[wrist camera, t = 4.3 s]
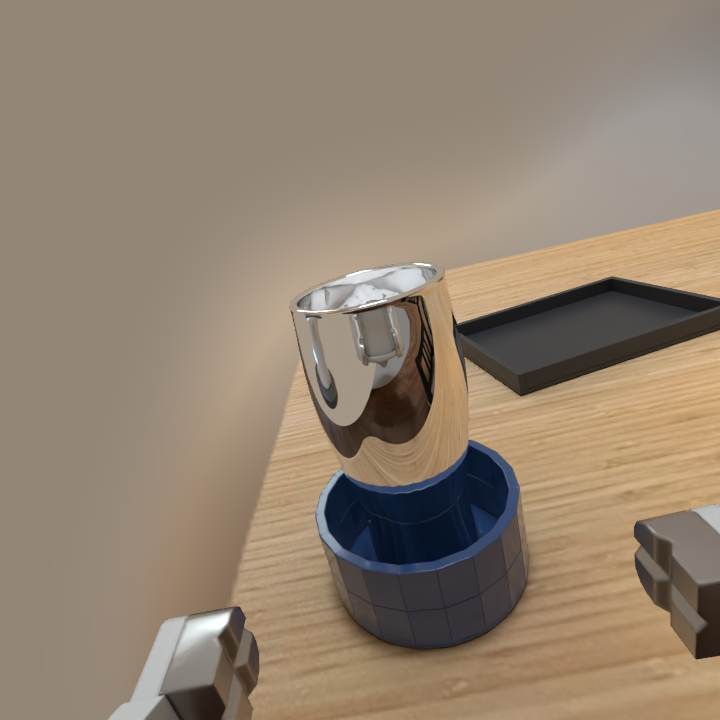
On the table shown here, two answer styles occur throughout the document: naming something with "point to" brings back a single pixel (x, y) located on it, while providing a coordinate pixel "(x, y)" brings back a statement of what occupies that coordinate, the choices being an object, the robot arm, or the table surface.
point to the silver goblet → (393, 403)
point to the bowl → (432, 564)
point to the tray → (584, 331)
